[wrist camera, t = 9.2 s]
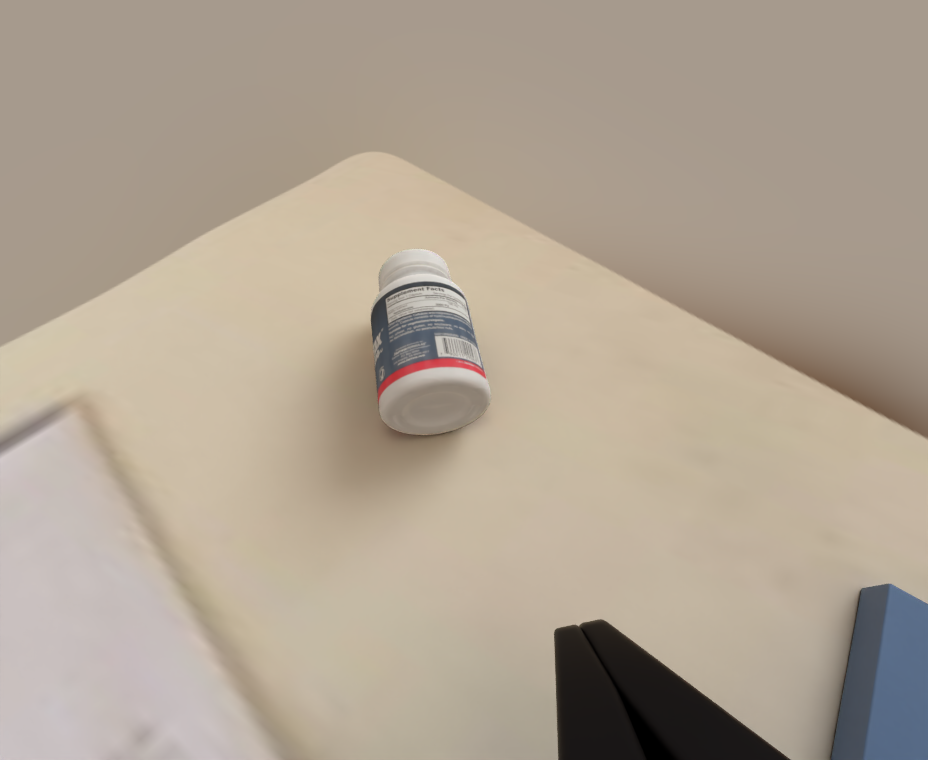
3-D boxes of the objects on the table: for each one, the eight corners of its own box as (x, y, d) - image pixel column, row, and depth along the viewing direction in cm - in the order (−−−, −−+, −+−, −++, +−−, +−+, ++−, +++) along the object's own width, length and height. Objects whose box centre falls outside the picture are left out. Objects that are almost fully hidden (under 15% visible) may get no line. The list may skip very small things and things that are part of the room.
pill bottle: (396, 446, 22) (382, 316, 27) (496, 424, 22) (464, 298, 27) (363, 396, 18) (353, 251, 23) (487, 367, 18) (451, 228, 23)
